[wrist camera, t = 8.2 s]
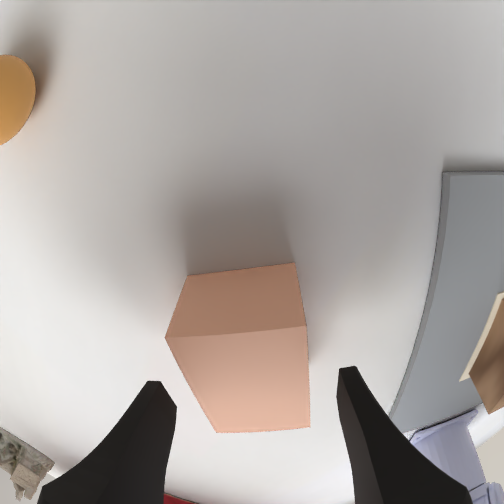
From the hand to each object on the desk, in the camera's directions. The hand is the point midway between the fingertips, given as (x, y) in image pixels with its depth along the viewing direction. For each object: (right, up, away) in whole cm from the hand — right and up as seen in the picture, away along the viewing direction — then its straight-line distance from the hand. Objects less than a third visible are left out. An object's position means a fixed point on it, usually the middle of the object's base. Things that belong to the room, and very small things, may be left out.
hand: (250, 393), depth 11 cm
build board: (+18, 0, +3) cm, 18 cm away
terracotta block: (0, +2, +3) cm, 4 cm away
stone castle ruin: (-50, -36, +26) cm, 67 cm away
